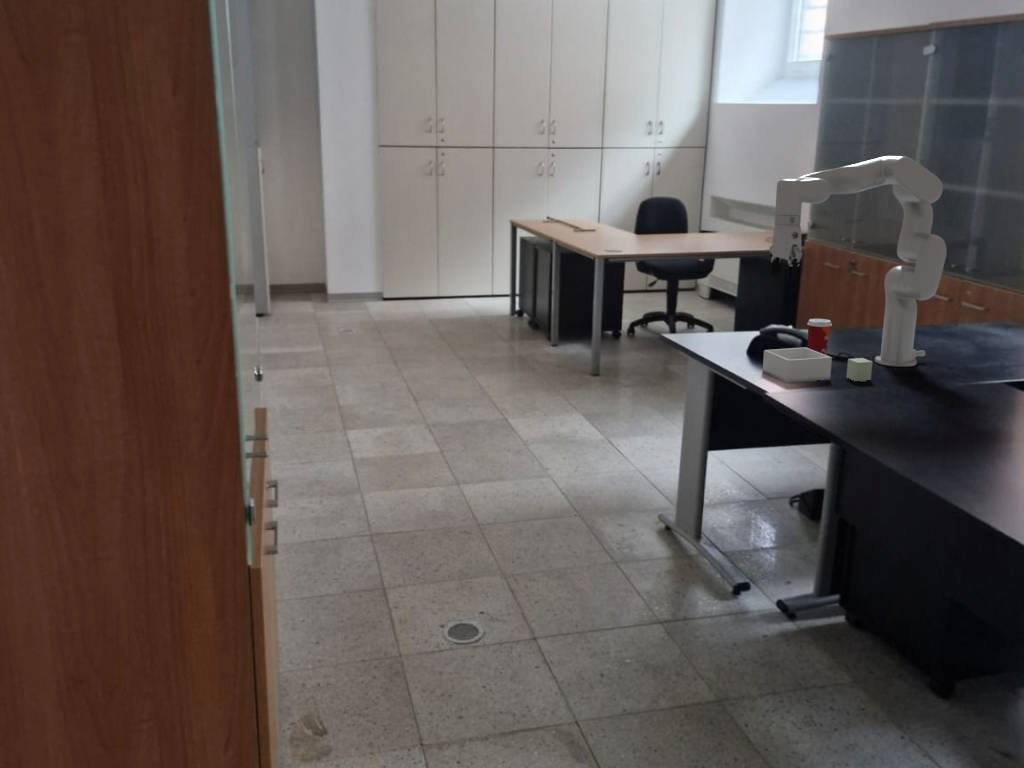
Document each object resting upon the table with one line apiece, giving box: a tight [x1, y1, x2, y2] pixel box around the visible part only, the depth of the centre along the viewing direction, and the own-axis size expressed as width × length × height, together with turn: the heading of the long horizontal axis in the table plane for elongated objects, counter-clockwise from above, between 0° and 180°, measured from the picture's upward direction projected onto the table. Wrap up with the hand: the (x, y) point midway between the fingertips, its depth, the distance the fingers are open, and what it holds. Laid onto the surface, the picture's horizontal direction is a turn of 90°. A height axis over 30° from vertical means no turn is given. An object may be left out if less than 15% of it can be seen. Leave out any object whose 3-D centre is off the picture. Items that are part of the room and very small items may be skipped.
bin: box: [762, 346, 833, 384], centre depth 278 cm, size 15×15×7 cm
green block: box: [846, 357, 873, 382], centre depth 274 cm, size 5×5×6 cm
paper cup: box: [806, 318, 833, 356], centre depth 294 cm, size 8×8×14 cm
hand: (783, 277), depth 275 cm, fingers open, 9 cm apart
